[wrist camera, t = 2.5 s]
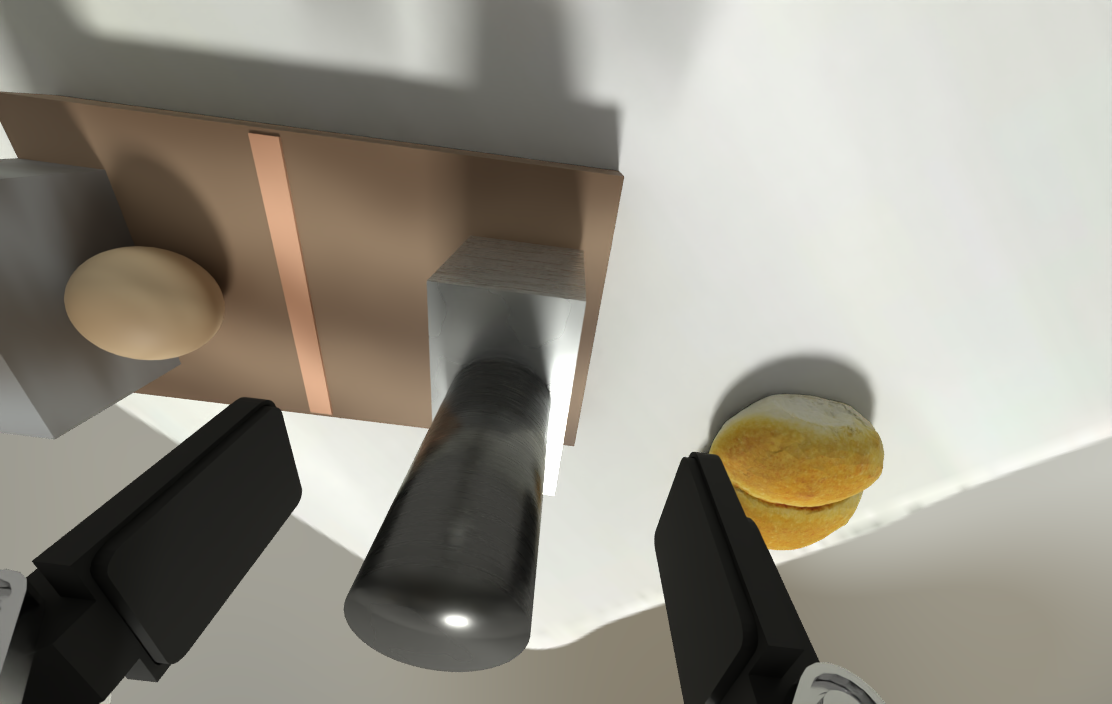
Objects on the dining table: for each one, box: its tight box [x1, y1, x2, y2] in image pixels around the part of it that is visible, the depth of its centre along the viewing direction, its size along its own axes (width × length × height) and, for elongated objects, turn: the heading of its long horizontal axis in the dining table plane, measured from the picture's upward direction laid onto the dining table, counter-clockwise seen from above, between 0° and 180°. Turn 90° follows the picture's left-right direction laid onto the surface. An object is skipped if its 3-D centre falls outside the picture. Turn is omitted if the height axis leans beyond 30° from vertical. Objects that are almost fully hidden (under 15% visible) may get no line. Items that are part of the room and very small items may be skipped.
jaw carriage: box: [344, 236, 586, 672], centre depth 11 cm, size 7×4×11 cm, turn 173°
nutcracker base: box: [0, 92, 624, 446], centre depth 15 cm, size 12×21×7 cm, turn 83°
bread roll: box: [709, 394, 884, 550], centre depth 20 cm, size 8×9×4 cm
